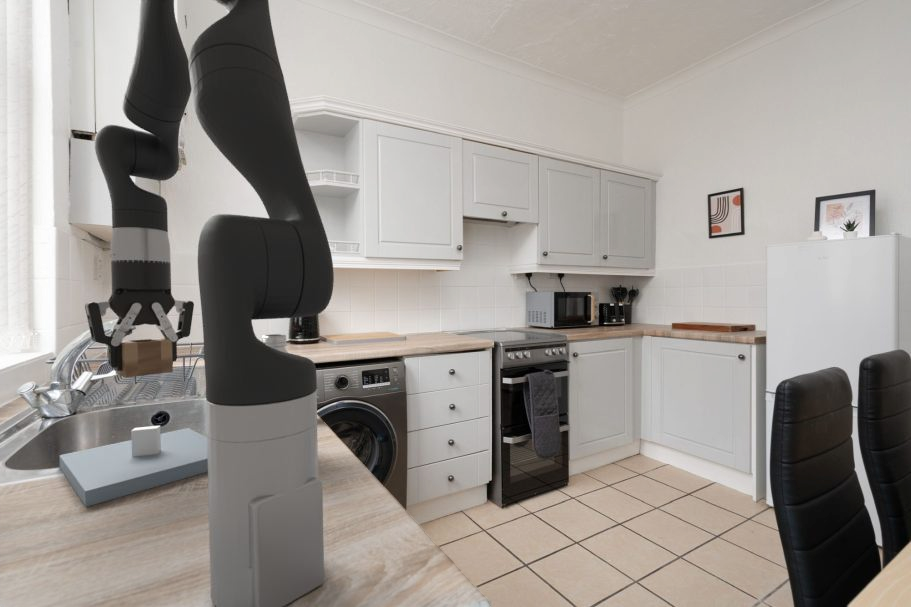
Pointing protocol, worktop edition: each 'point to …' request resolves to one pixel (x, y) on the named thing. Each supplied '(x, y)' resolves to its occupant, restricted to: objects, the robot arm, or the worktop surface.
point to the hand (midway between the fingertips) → (144, 367)
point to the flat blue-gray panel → (135, 463)
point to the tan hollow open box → (146, 357)
